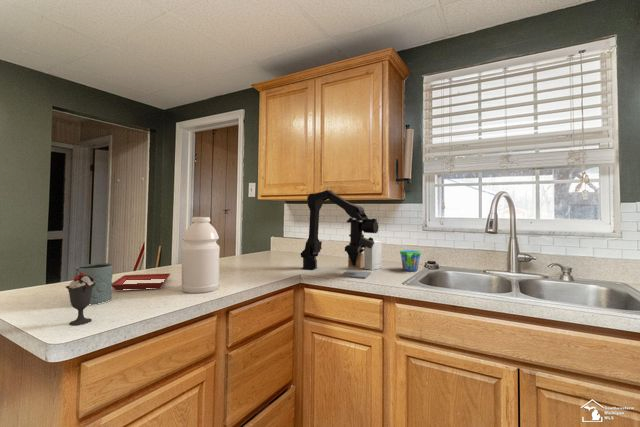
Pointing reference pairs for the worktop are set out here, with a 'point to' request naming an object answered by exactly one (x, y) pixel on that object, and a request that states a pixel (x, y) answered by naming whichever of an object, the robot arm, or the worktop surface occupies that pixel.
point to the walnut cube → (357, 261)
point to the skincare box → (373, 256)
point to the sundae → (80, 296)
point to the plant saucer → (120, 286)
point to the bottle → (200, 257)
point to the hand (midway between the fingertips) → (355, 264)
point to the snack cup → (410, 259)
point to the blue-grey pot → (99, 280)
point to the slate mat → (355, 274)
